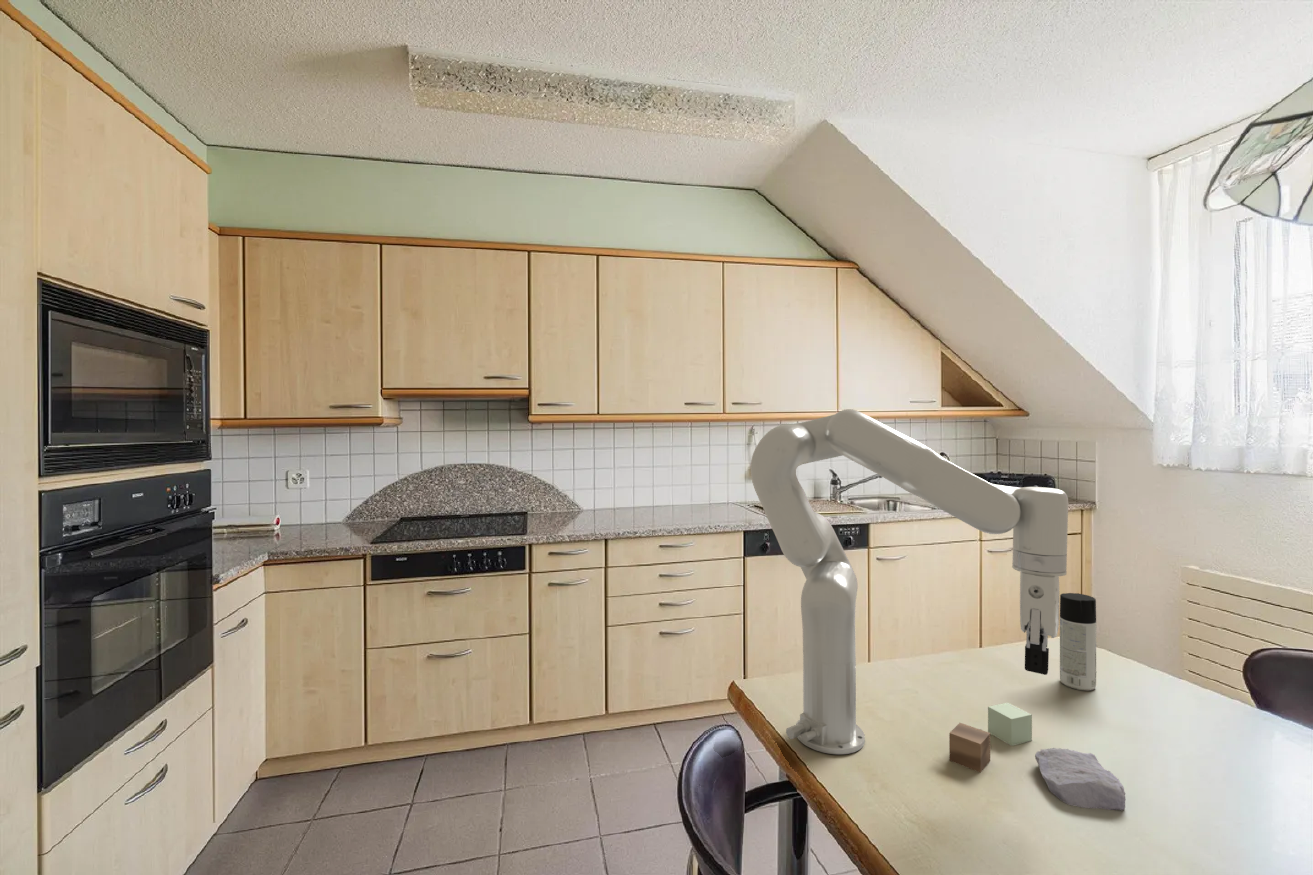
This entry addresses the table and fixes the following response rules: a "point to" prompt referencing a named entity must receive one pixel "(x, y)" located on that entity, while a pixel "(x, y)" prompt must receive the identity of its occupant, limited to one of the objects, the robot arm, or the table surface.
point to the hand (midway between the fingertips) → (1036, 670)
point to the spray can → (1078, 641)
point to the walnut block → (969, 747)
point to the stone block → (1080, 779)
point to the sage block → (1010, 723)
